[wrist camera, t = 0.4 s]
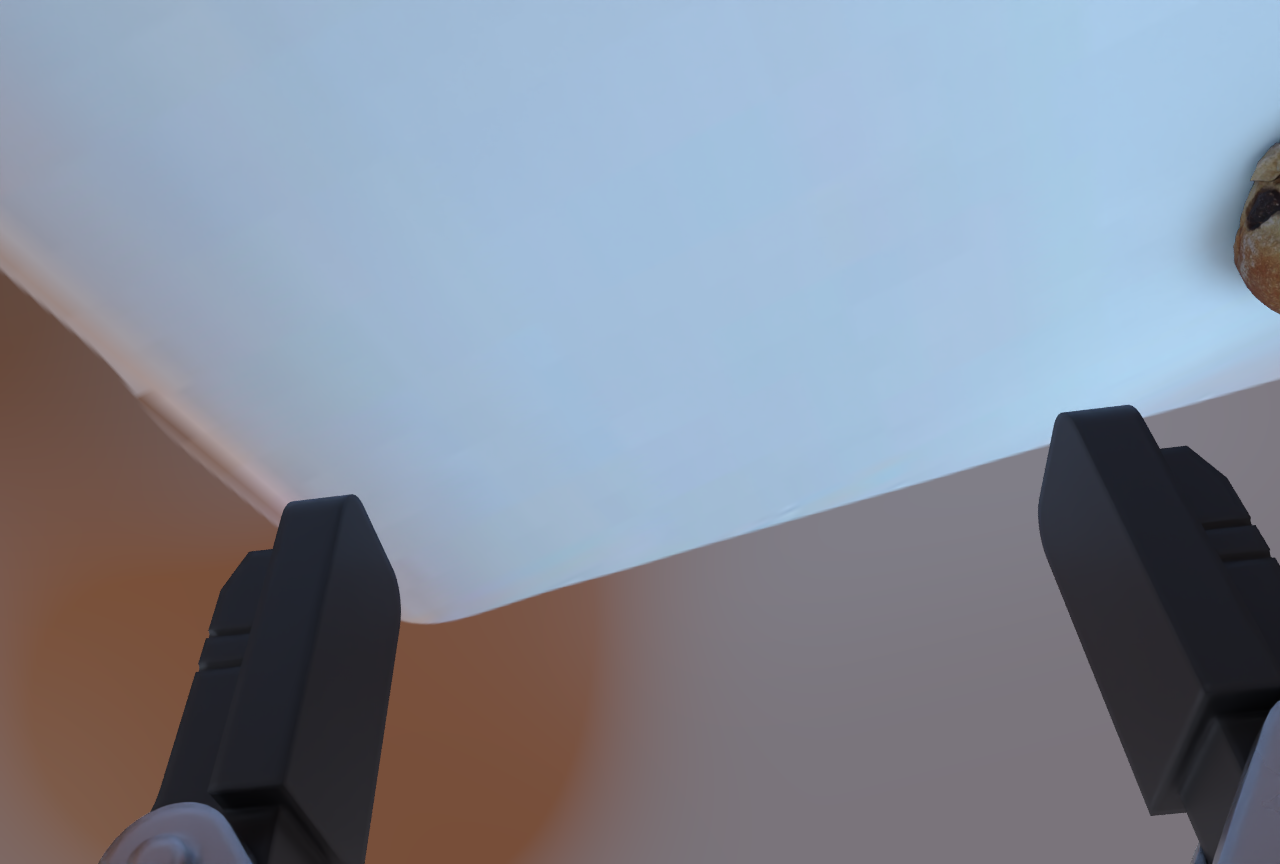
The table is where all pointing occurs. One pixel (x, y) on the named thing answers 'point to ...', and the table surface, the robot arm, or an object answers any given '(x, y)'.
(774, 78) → the table surface
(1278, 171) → the bread roll
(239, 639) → the robot arm
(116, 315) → the table surface
